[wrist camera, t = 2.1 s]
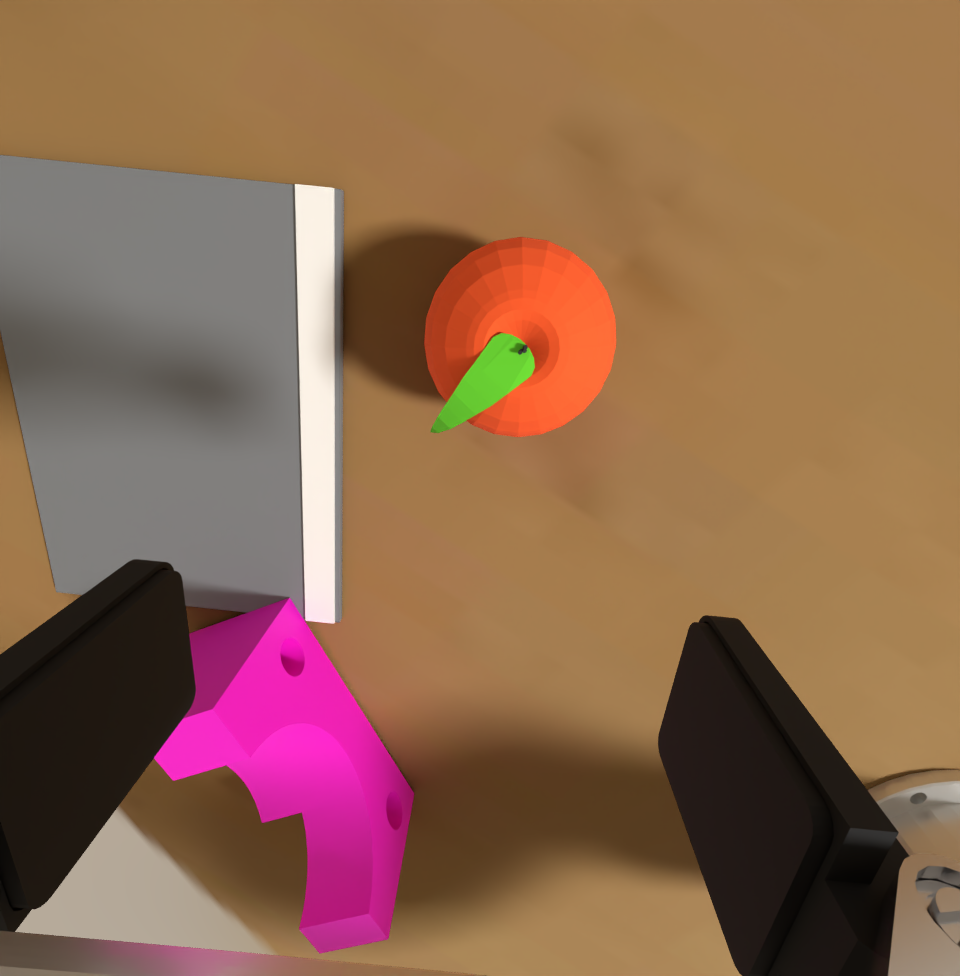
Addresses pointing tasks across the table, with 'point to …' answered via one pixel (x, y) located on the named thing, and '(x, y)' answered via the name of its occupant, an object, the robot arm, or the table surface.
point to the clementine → (518, 338)
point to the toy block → (300, 764)
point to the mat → (179, 376)
